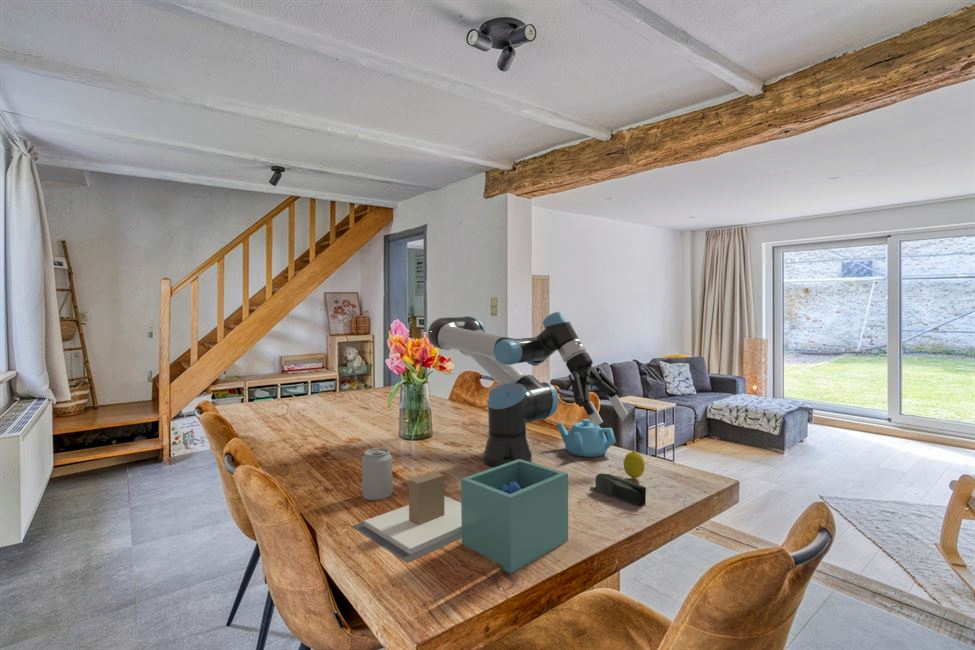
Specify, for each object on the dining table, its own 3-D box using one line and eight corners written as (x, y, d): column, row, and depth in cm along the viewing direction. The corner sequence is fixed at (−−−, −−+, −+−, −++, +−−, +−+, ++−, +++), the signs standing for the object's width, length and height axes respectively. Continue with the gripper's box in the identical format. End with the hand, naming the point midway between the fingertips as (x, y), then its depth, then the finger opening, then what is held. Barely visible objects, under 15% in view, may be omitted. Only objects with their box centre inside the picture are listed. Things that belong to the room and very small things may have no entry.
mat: (351, 529, 104) (351, 526, 104) (441, 497, 122) (441, 493, 122) (407, 566, 89) (407, 562, 89) (500, 523, 107) (500, 519, 107)
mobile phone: (647, 485, 117) (595, 468, 128) (641, 488, 115) (588, 471, 125) (647, 505, 117) (594, 487, 128) (640, 508, 115) (588, 490, 126)
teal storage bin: (461, 547, 96) (461, 478, 96) (519, 520, 108) (519, 458, 108) (510, 573, 87) (510, 497, 86) (568, 540, 99) (568, 473, 98)
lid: (364, 526, 104) (363, 479, 104) (440, 498, 119) (439, 457, 118) (410, 554, 92) (409, 502, 92) (488, 519, 107) (487, 474, 106)
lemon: (645, 483, 130) (645, 454, 130) (624, 482, 131) (624, 453, 131) (643, 476, 135) (643, 448, 135) (622, 475, 137) (623, 447, 136)
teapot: (573, 461, 149) (573, 426, 149) (555, 447, 164) (555, 416, 164) (618, 457, 153) (618, 423, 152) (596, 443, 168) (596, 413, 167)
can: (366, 505, 117) (365, 457, 116) (359, 495, 124) (358, 448, 123) (396, 499, 120) (395, 452, 120) (387, 489, 127) (387, 444, 126)
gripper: (559, 354, 135) (597, 421, 127) (606, 348, 153) (643, 407, 144) (542, 367, 140) (578, 434, 131) (590, 360, 157) (624, 418, 149)
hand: (612, 420), depth 138 cm, fingers open, 13 cm apart
